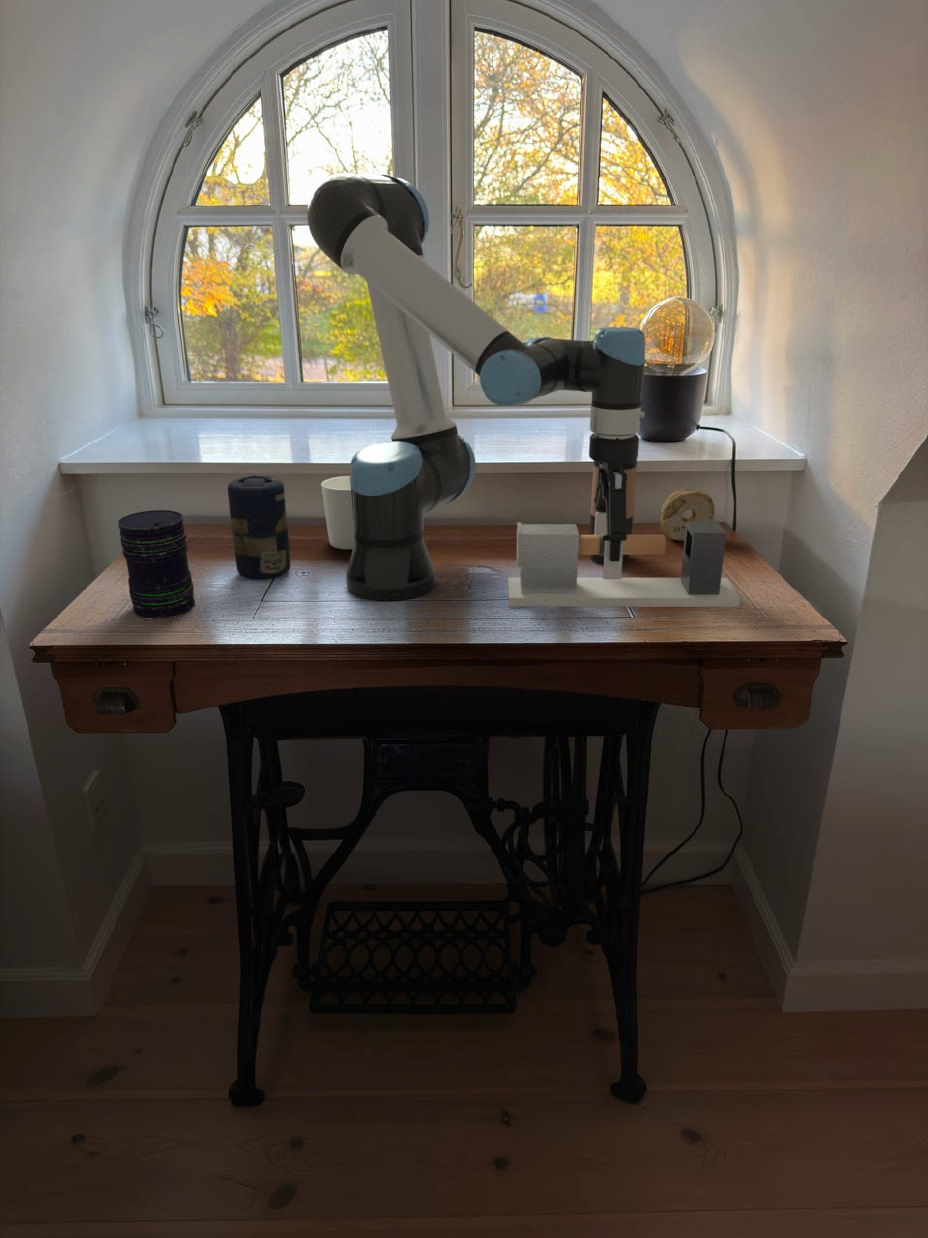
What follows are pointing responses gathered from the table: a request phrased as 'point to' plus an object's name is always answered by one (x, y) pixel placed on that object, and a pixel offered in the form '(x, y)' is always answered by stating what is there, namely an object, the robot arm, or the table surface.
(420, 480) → the robot arm
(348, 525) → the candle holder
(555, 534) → the light grey block
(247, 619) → the table surface
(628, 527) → the travel mug
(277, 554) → the canister
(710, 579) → the charcoal socket
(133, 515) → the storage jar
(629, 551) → the orange tube
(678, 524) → the stone disc
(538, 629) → the table surface
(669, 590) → the baseboard
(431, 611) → the table surface
